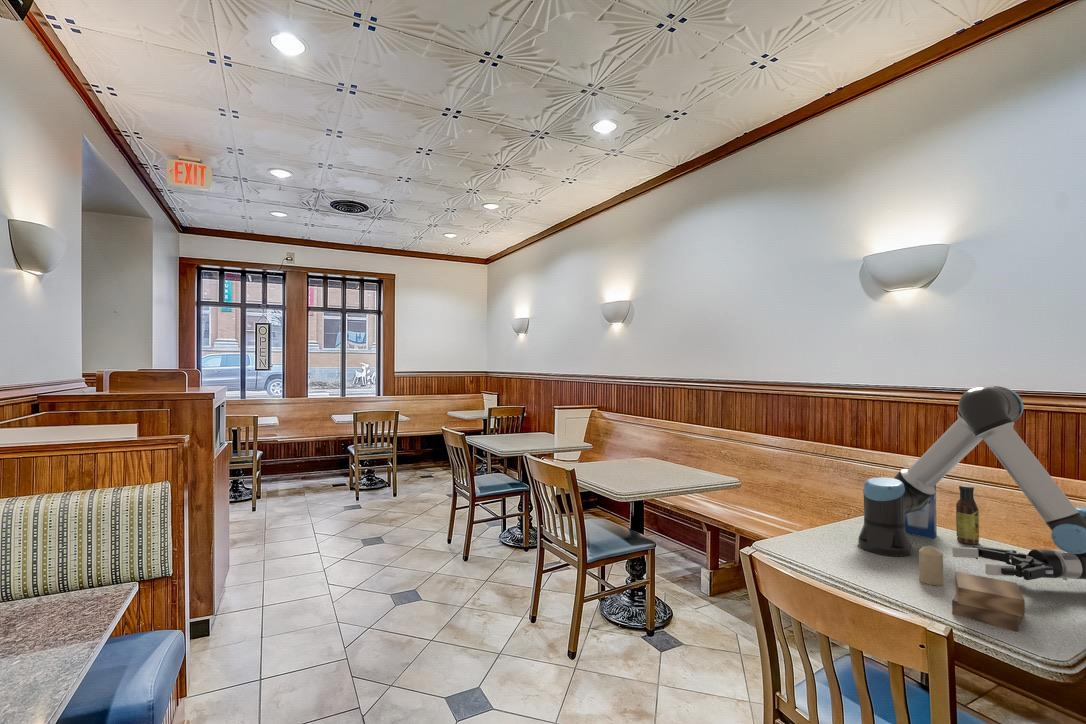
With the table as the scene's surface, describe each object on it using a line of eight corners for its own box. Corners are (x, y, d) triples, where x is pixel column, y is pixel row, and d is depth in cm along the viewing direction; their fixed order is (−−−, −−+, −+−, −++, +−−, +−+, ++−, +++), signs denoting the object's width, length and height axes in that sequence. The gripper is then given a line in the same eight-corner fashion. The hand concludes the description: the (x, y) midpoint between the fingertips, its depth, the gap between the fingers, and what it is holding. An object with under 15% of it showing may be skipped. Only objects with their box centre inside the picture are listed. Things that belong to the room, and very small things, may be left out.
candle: (947, 586, 143) (947, 551, 144) (925, 585, 144) (924, 549, 145) (936, 578, 149) (936, 544, 149) (915, 577, 150) (914, 543, 150)
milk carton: (936, 534, 189) (936, 480, 190) (934, 538, 185) (933, 483, 185) (904, 528, 196) (903, 476, 197) (901, 532, 192) (900, 479, 192)
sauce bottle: (981, 546, 176) (980, 489, 177) (958, 543, 180) (957, 486, 180) (977, 541, 182) (976, 485, 182) (955, 538, 185) (954, 483, 186)
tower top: (958, 603, 125) (958, 587, 126) (955, 586, 135) (954, 571, 135) (1024, 617, 118) (1024, 600, 118) (1016, 598, 128) (1016, 582, 128)
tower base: (952, 616, 127) (952, 600, 127) (961, 601, 135) (961, 586, 135) (1017, 634, 118) (1017, 617, 119) (1023, 617, 126) (1022, 601, 127)
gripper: (1095, 596, 130) (1002, 592, 133) (1017, 561, 155) (941, 558, 158) (1094, 566, 130) (1001, 563, 133) (1017, 536, 155) (940, 533, 158)
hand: (968, 560), depth 145 cm, fingers open, 13 cm apart
